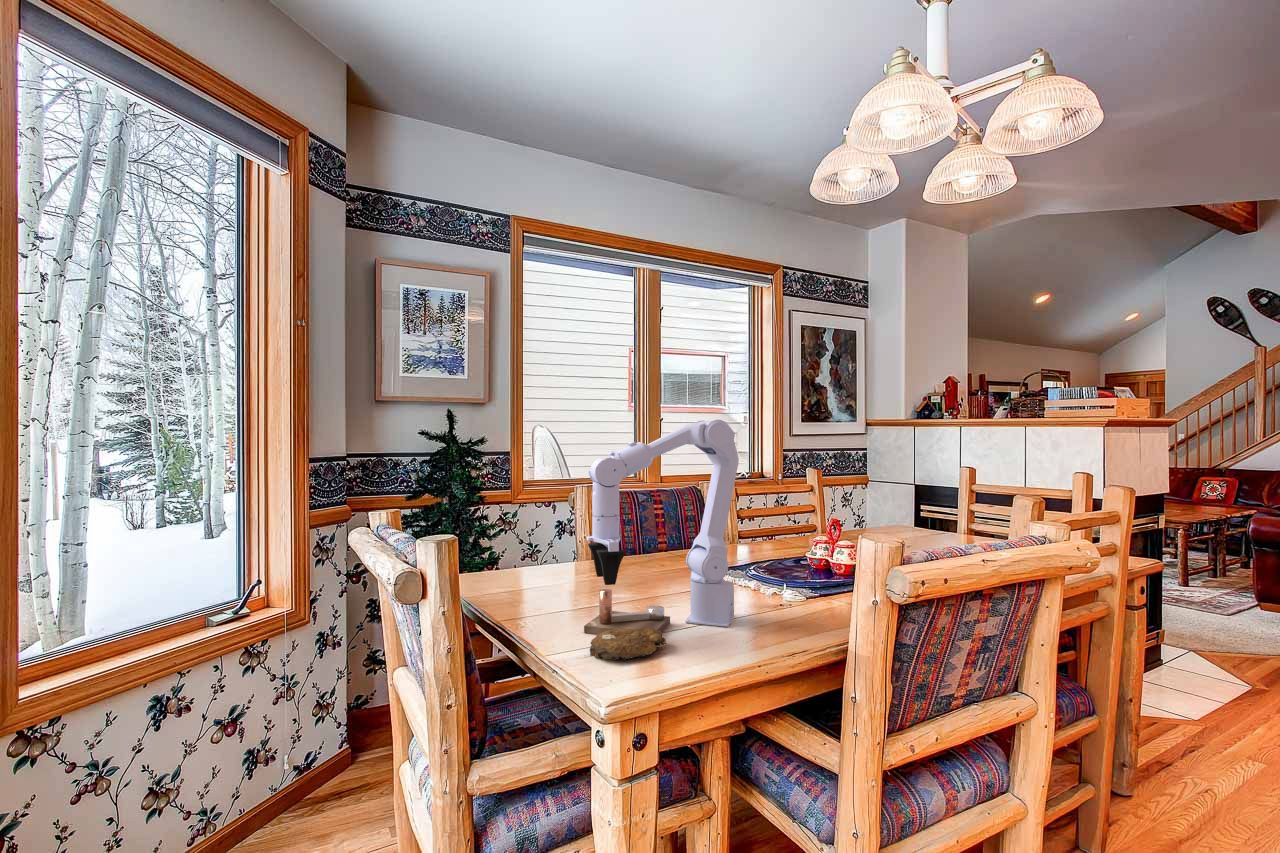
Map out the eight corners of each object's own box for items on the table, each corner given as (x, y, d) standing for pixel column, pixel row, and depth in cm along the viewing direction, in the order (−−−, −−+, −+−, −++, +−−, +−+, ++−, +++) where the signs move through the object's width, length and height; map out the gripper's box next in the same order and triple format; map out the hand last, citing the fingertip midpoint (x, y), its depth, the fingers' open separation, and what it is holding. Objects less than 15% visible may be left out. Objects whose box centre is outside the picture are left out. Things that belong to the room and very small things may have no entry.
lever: (660, 614, 135) (660, 584, 135) (666, 618, 131) (666, 588, 131) (597, 619, 131) (597, 588, 131) (601, 624, 127) (601, 592, 127)
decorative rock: (645, 638, 126) (580, 655, 118) (644, 618, 126) (579, 633, 118) (679, 652, 116) (611, 671, 108) (678, 630, 117) (609, 647, 108)
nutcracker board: (670, 623, 134) (670, 616, 134) (653, 640, 123) (653, 632, 123) (605, 617, 139) (605, 609, 139) (584, 633, 127) (584, 625, 127)
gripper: (580, 511, 136) (580, 574, 135) (594, 520, 122) (594, 589, 121) (612, 510, 138) (612, 572, 137) (628, 519, 124) (628, 587, 123)
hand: (605, 580), depth 130 cm, fingers open, 7 cm apart
